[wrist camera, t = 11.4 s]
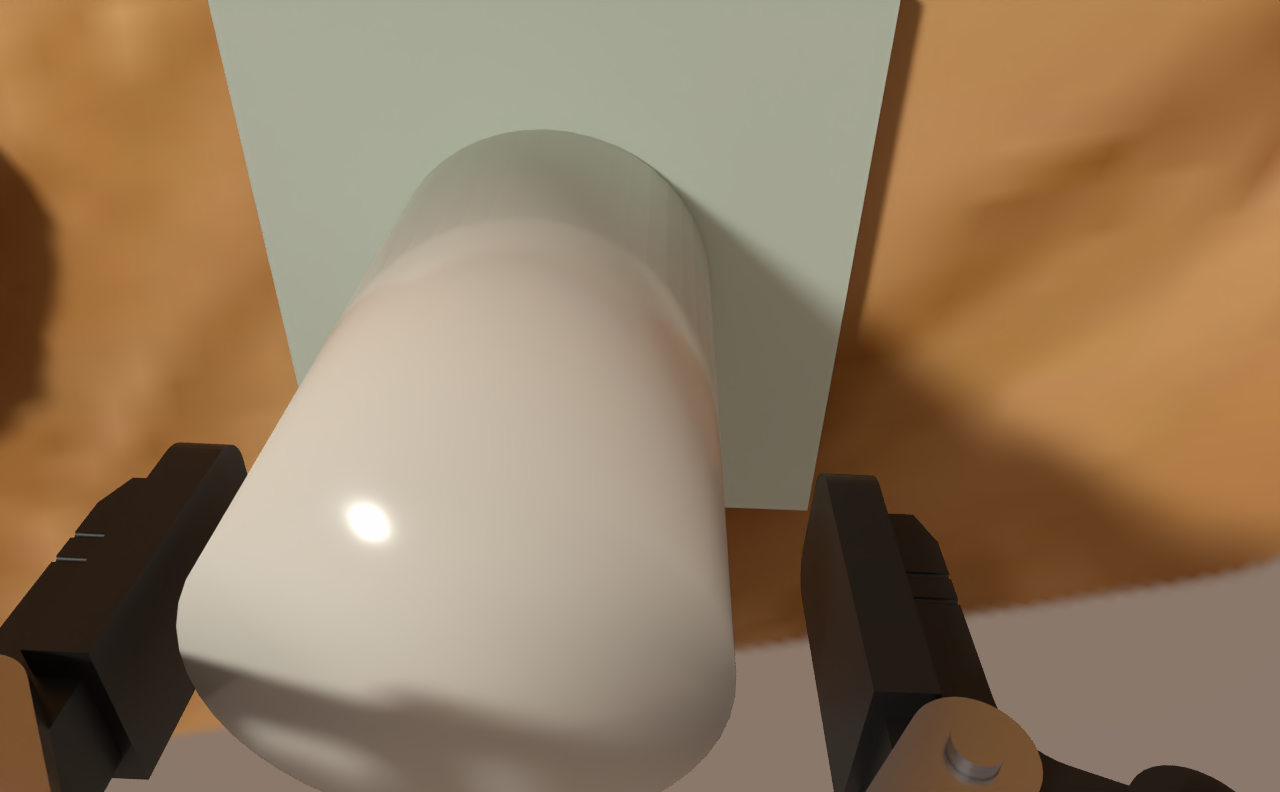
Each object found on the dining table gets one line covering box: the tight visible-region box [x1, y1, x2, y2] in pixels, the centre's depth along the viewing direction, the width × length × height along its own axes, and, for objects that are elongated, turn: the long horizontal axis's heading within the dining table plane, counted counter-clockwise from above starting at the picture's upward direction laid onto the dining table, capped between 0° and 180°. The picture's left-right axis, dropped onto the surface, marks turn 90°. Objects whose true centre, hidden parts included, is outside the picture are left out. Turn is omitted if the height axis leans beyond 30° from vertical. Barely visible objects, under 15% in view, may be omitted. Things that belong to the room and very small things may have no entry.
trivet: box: [208, 0, 901, 511], centre depth 17 cm, size 11×11×1 cm
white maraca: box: [176, 129, 736, 792], centre depth 15 cm, size 12×6×9 cm, turn 178°
